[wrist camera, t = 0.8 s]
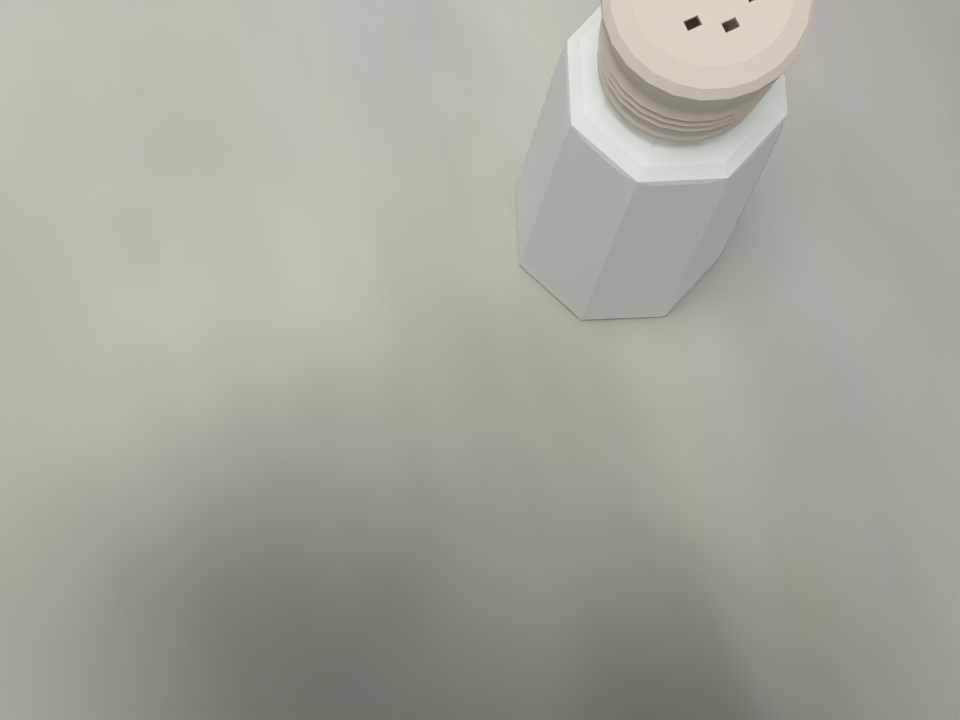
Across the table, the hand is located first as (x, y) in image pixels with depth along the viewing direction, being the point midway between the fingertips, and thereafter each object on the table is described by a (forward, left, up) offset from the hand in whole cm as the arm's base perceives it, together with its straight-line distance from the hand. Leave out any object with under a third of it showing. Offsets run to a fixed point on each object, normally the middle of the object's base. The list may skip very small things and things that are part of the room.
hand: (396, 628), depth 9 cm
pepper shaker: (+7, -5, -13) cm, 16 cm away
